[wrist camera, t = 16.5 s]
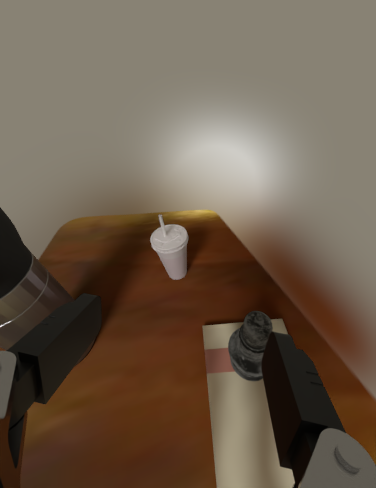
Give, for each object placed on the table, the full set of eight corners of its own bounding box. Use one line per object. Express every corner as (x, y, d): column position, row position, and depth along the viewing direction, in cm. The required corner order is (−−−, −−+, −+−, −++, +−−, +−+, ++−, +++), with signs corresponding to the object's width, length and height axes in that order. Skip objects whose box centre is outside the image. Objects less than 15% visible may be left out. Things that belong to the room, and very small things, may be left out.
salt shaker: (260, 331, 31) (272, 283, 23) (282, 376, 27) (307, 336, 19) (221, 343, 31) (220, 298, 22) (238, 390, 27) (244, 356, 18)
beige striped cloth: (219, 510, 21) (219, 512, 20) (203, 329, 34) (202, 325, 33) (347, 505, 20) (352, 507, 19) (280, 322, 33) (282, 318, 32)
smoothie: (161, 262, 45) (143, 206, 35) (191, 257, 45) (182, 200, 35) (162, 288, 40) (142, 232, 31) (195, 282, 40) (186, 224, 31)
